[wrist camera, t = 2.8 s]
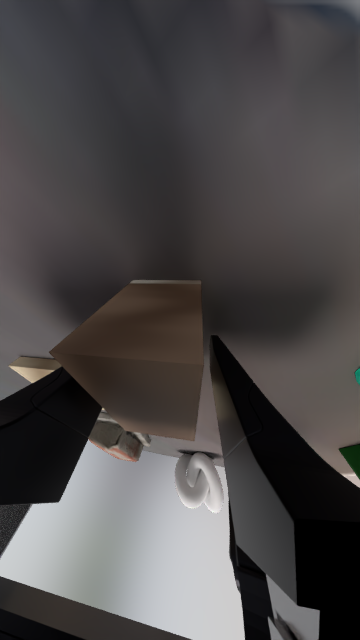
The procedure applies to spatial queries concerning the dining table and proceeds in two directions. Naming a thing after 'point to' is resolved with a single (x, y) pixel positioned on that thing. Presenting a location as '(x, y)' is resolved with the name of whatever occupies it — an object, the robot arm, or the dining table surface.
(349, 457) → the milk carton
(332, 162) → the dining table surface
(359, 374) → the candle
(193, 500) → the white knot sculpture
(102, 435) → the packaged product
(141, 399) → the block
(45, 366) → the board
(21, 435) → the robot arm
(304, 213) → the dining table surface
